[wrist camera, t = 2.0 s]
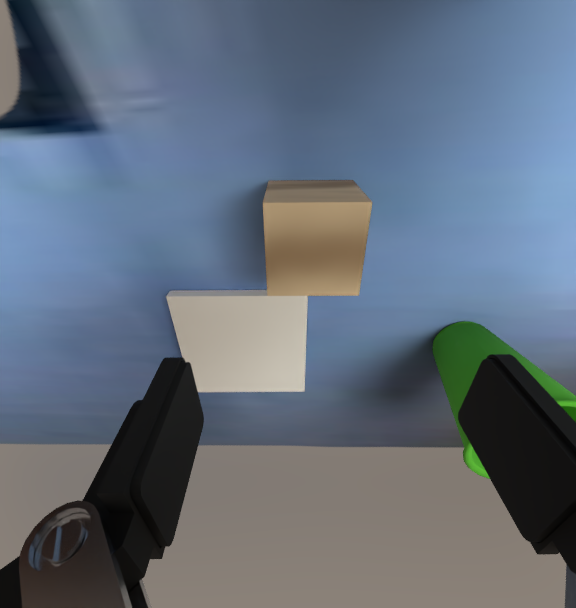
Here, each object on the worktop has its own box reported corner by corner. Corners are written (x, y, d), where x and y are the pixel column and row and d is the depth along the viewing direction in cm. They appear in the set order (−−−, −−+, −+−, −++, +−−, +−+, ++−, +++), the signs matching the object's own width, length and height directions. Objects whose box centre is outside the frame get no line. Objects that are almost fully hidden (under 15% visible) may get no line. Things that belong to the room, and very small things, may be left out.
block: (268, 180, 22) (262, 202, 17) (352, 179, 22) (372, 202, 17) (271, 257, 25) (267, 295, 20) (344, 257, 25) (358, 295, 20)
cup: (417, 382, 33) (467, 489, 24) (404, 319, 28) (461, 422, 19) (506, 361, 31) (597, 468, 22) (508, 290, 26) (626, 388, 17)
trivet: (169, 290, 26) (166, 296, 26) (307, 289, 26) (307, 295, 26) (194, 384, 33) (191, 392, 32) (304, 384, 33) (304, 391, 32)
